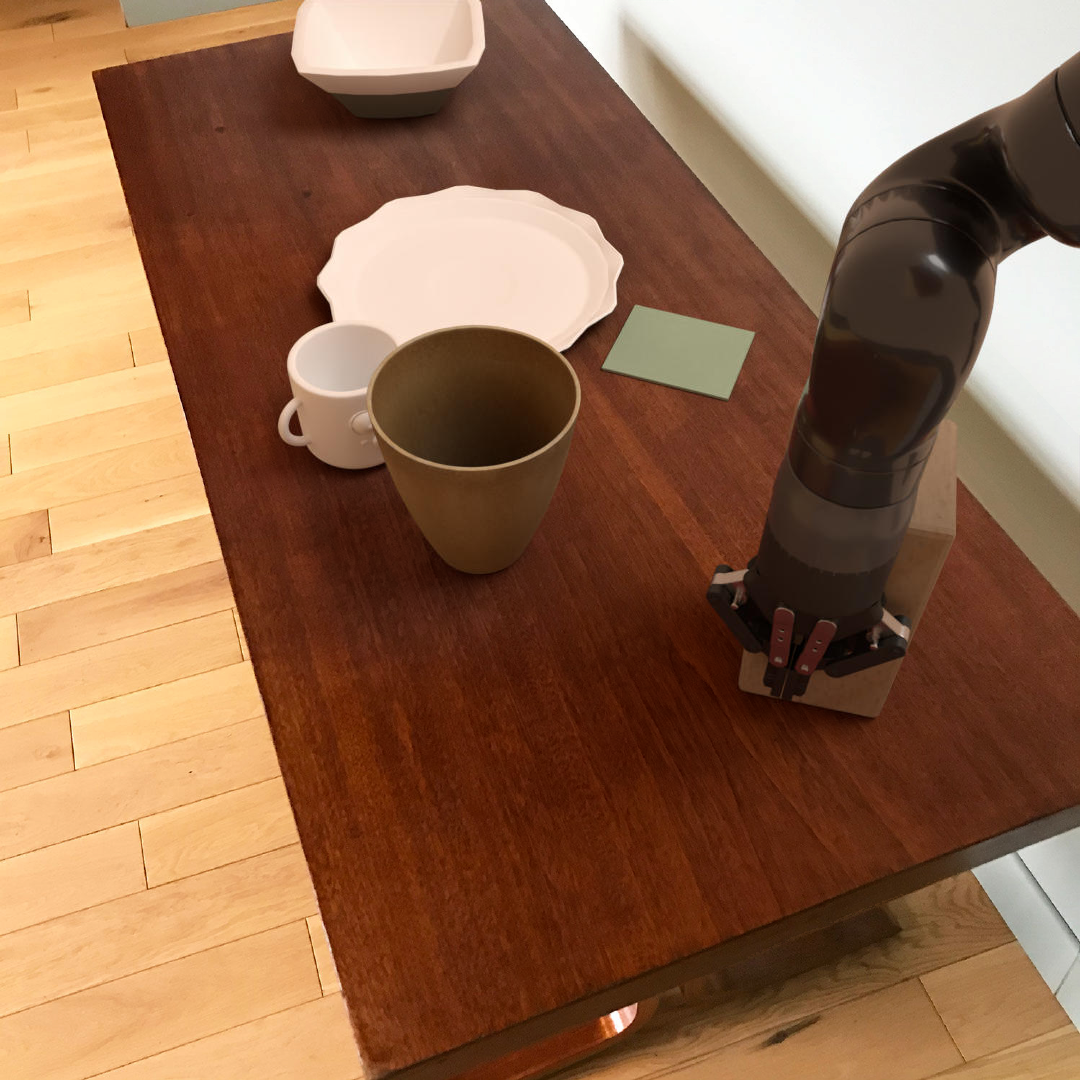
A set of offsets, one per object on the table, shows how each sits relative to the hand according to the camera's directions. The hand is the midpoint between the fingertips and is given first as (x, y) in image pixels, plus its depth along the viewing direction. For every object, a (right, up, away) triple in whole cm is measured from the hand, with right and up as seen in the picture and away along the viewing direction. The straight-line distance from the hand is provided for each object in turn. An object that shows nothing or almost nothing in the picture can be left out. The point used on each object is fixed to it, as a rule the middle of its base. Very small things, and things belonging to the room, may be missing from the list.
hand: (783, 688), depth 75 cm
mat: (-3, +28, +29) cm, 40 cm away
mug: (-33, +18, +22) cm, 43 cm away
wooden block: (+4, +2, +7) cm, 8 cm away
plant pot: (-21, +10, +14) cm, 27 cm away
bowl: (-34, +64, +61) cm, 95 cm away
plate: (-23, +35, +36) cm, 55 cm away
